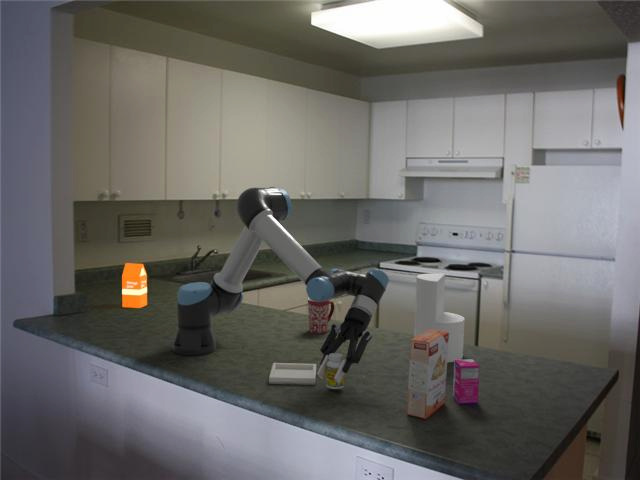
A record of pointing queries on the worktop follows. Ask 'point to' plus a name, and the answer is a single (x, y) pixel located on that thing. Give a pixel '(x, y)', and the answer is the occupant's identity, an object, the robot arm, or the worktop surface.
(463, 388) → the supplement box
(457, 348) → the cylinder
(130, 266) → the orange juice
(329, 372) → the supplement bottle
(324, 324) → the mug
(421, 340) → the cracker box
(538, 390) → the worktop surface
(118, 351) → the worktop surface
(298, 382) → the tray
